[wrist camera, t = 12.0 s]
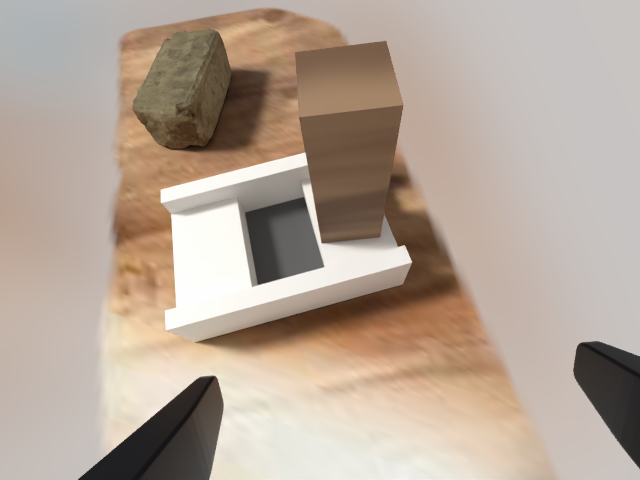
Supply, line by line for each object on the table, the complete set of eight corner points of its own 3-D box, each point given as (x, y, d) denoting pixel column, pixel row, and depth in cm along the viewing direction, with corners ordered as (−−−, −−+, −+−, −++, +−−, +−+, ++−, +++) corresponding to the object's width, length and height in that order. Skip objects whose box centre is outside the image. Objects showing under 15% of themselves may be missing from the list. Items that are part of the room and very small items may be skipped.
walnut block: (380, 237, 22) (403, 105, 12) (321, 243, 22) (298, 117, 13) (371, 189, 24) (386, 40, 14) (317, 195, 24) (295, 52, 14)
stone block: (237, 71, 36) (220, 24, 31) (213, 153, 31) (190, 111, 26) (186, 72, 36) (163, 26, 32) (155, 153, 31) (123, 111, 27)
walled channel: (402, 284, 23) (412, 262, 20) (194, 342, 23) (165, 330, 19) (358, 172, 28) (359, 138, 24) (185, 217, 27) (160, 189, 24)
